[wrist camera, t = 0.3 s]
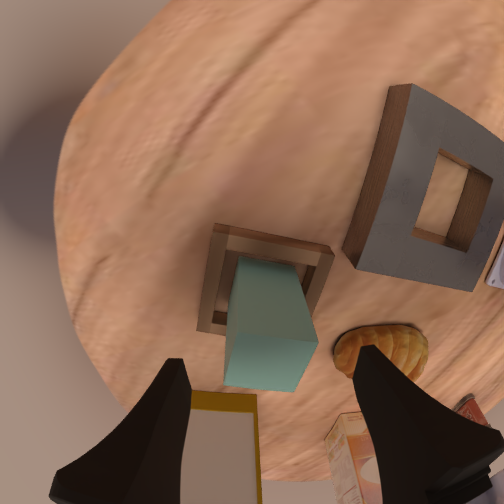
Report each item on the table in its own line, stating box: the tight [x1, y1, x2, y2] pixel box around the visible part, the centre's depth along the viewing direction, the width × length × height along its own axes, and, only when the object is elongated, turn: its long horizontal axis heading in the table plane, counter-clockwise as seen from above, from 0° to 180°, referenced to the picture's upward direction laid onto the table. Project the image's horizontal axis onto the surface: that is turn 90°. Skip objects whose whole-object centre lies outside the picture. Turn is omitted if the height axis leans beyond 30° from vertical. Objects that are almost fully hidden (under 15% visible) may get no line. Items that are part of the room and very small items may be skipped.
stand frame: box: [196, 223, 335, 336], centre depth 21 cm, size 8×8×2 cm
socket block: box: [342, 83, 504, 292], centre depth 17 cm, size 12×12×3 cm
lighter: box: [452, 393, 492, 428], centre depth 29 cm, size 8×3×10 cm, turn 171°
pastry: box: [333, 325, 428, 382], centre depth 23 cm, size 9×7×4 cm
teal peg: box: [223, 256, 319, 392], centre depth 18 cm, size 4×4×8 cm
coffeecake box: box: [325, 412, 383, 504], centre depth 23 cm, size 15×7×20 cm, turn 84°
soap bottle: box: [180, 390, 262, 504], centre depth 16 cm, size 7×13×24 cm, turn 175°
